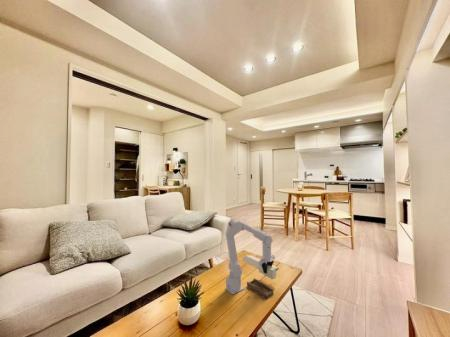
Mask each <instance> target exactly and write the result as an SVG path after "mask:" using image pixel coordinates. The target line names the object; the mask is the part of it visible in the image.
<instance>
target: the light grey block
mask: <svg viewBox="0 0 450 337" xmlns="http://www.w3.org/2000/svg"><path fill="white" fill-rule="evenodd" d="M258 273H260V274H262V275H263V276H266V277H267V278H269V279H270V280H274V279H276V278H277V270H276V268H274V267H272V266H269V265H268V267H267V274H265V273H264V272H263V268H262V266H261V265H260V264H259V269H258Z"/></svg>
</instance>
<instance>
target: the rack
mask: <svg viewBox="0 0 450 337" xmlns="http://www.w3.org/2000/svg"><path fill="white" fill-rule="evenodd" d="M246 287H248V288H249V289H250V290H252V291H253V292H255V293H256V294H258V295H259V296H260V297H262V298H264V299H266V300H267V299H268V298H270V297H271V296H273V295H274V289H273V288H272V287H270V286H268V285H266V284H264V283H263V282H261V281H260V280H258V279H256V278H253V280H250V281H247V282H246Z"/></svg>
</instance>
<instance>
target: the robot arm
mask: <svg viewBox="0 0 450 337" xmlns="http://www.w3.org/2000/svg"><path fill="white" fill-rule="evenodd" d="M241 231H247V232H250V233H251V234H252V235H253V237H254V238H255V239H257V240H259V241H262V247H261V248H262V258H260V261H259V264H260V265H261V266H262V268H263V272H264V273H265V274H267V267H268V265H269V266H272V265H273V264H274V263H275V262H274V260H275V259H276V256H275V255H272V243H273V241H274V240H273V238H272V236H271V235H269V234H268V233H267V232H264V231H263V230H262V229H261V228H253V227H252V226H250V225H248V224H247V223H246V222H243V221H241V220H239V219H238V220H237V219H236V218H231V220H229V222H228V223H227V228H226V232H225V238H226V245H227V251H228V252H227V253H228V256H229V257H228V258H229V260H228V267H227V268H228V270H229V275H228V276H227V277H226V278H225V289H224V290H226V291H227V292H228V293H230V294H231V295H235V294H237V293H238V292H241V291H242V290H244V289H245V287H243V286H242V277H241V276H242V274H243V270H242V268H241V266H240V262H239V259H238V252H237V249H236V246H237V245H236V241H235V236H236V235H237V234H238V233H240V232H241ZM266 263H267V264H266Z"/></svg>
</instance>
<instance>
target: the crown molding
mask: <svg viewBox="0 0 450 337" xmlns="http://www.w3.org/2000/svg"><path fill="white" fill-rule="evenodd" d="M260 260H261V258H258V257H255V256H253V255H250V254H249V255H248V254H247V255H244V256H243V258H242V259H241V262H242V261H243V262H244V263H245V264H248V265H251V266H252V267H254V268H257V270H259V261H260ZM266 264H267V263H266ZM272 267H274V268H276V271H277V270H279V269H280V267H278V266H276V265H272Z"/></svg>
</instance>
